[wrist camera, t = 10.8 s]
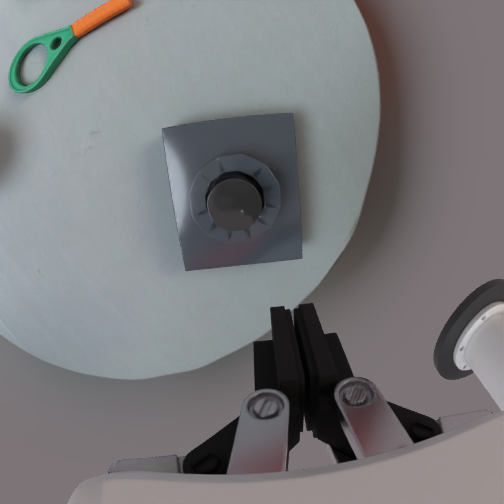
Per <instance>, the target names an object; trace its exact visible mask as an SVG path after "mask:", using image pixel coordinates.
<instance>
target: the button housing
mask: <svg viewBox="0 0 504 504" xmlns="http://www.w3.org/2000/svg"><path fill="white" fill-rule="evenodd" d="M162 133H163V141H164V148H165V156H166V163H167V169H168V176H169V183H170V189H171V195H172V201H173V207H174V213H175V218H176V224H177V229H178V235H179V240H180V245H181V250H182V255H183V260H184V265H185V270H186V271H190V270H200V269H210V268H220V267H229V266H239V265H248V264H257V263H267V262H276V261H285V260H294V259H302V235H301V214H300V197H299V181H298V167H297V154H296V142H295V130H294V120H293V113H281V114H266V115H254V116H244V117H234V118H226V119H218V120H210V121H203V122H197V123H190V124H184V125H178V126H173V127H167V128H163V129H162ZM229 175H241V176H244V177H246V178H248V179H250V180H251V181H252V182H253V183H254V184H255V185H256V187H257V189H258V191H259V194H260V197H261V202H262V208H261V213H260V215H259V217H258V219H257V220H256V222H255V223H254V224H253V225H252V226H250V227H249V228H247V229H244V230H241V231H228V230H224V229H222V228H220V227H219V226H217V225H216V224H215V223H214V222H213V221H212V219H211V217H210V216H209V213H208V209H207V201H208V197H209V194H210V192H211V191H212V189H213V187H214V185H215V184H216V183H217V182H218V181H219V180H220V179H222V178H223V177H226V176H229Z"/></svg>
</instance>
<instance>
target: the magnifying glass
mask: <svg viewBox="0 0 504 504" xmlns="http://www.w3.org/2000/svg"><path fill="white" fill-rule="evenodd" d="M132 6H133V4H132V1H131V0H110V1H109V2H107V3H105V4H104V5H102V6H100V7H99V8H97V9H95V10H94V11H92V12H90V13H89V14H87V15H86V16H84V17H83V18H81V19H80V20H78V21H77V22H75V23H74V24H72V25H71V26H68V27H66V28H63V29H60V30H57V31H53V32H50V33H47V34H44V35H41V36H38V37H35V38H33V39H31V40H29V41H28V42H26V43H25V44H24V45H23V46H22V47H21V49H20V50H19V51H18V52H17V54H16V55H15V57H14V59H13V61H12V63H11V66H10V69H9V76H8V80H9V85H10V87H11V89H12V90H13V91H15V92H17V93H29V92H33V91H35V90H37V89H38V88H40V87H41V86H42V85H43V84H44V83H45V82H46V81H47V80H48V79H49V77H50V76H51V74H52V73H53V71H54V70H55V69H56V67H57V66H58V64H59V63H60V61H61V60H62V59H63V57H64V56H65V54H66V53H67V52H68V50H69V49H70V48H71V46H72V45H73V44H74V43H75V42H76V41H77V40H78V39H79V38H80V37H82V36H83V35H85V34H86V33H88V32H89V31H91V30H92V29H94V28H96V27H97V26H99V25H101V24H102V23H104V22H105V21H107V20H109V19H111V18H112V17H114V16H116V15H117V14H119V13H121V12H123V11H125V10H127V9H129V8H131V7H132ZM59 39H62V42H61V45H60V46H59V47H58V48H57V49H56V50H55V49H54V46H55V43H56V42H57V40H59ZM38 44H43V45H44V46H45V47H46V49H47V61H46V65H45V67H44V70H43V72H42V73H41V75H40V76H39V78H38V79H37V80H36V81H35V82H34V83H32V84H31V85H29V86H28V85H27V86H25V85H23V84H22V83H21V81H20V78H19V68H20V64H21V62H22V59H23V58H24V56H25V54H26V53H27V52H28V51H29V50H30V49H31V48H32V47H34V46H35V45H38Z"/></svg>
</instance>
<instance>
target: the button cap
mask: <svg viewBox="0 0 504 504" xmlns="http://www.w3.org/2000/svg"><path fill="white" fill-rule="evenodd" d="M261 208H262V202H261V197H260V194H259V191H258V189H257V187H256V185H255V184H254V183H253V182H252V181H251V180H250V179H248V178H246V177H244V176H241V175H229V176H226V177H223V178H222V179H220V180H219V181H218V182H217V183H216V184H215V185H214V187H213V189H212V191H211V192H210V194H209V197H208V201H207V209H208V213H209V216H210V217H211V219H212V221H213V222H214V223H215V224H216V225H217V226H219V227H220V228H222V229H224V230H228V231H241V230H244V229H247V228H249V227H250V226H252V225H253V224H254V223H255V222H256V220H257V219H258V217H259V215H260V213H261Z"/></svg>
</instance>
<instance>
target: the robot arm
mask: <svg viewBox="0 0 504 504" xmlns="http://www.w3.org/2000/svg"><path fill="white" fill-rule="evenodd" d="M270 312H271V325H272V339H273V340H268V341H256V342H254V376H255V391H254V392H252V393H251V394H249V395H248V396H247V397H246V398H245V399H244V401H243V404H242V408H241V412H240V416H239V417H237V418H236V419H235V420H233V421H232V422H231V423H229V424H228V425H227V426H226V427H224V428H223V429H221V430H220V431H219V432H217V433H216V434H215V435H213V436H212V437H211V438H209V439H208V440H206V441H205V442H204V443H202V444H201V445H199V446H198V447H196V448H195V449H194V450H192V451H191V452H190V453H188V454H187V455H186V456H182V457H177V455H169V456H161V457H149V458H137V459H123V460H118V461H117V462H115V463H113V464H112V466H111V467H110V468H109V471H108V474H105V475H100V476H96V477H93V478H90V479H87V480H85V481H84V482H82V483H81V484H80V485H79V486H78V487H77V488H76V489H75V491H74V492H73V494H72V495H71V497H70V499H69V501H68V503H67V504H504V302H502V301H497V302H494V303H491V304H490V305H488V306H486V307H485V308H483V309H482V310H481V311H480V312H479V313H478V314H477V315H475V317H474V318H473V319H472V320H471V321H470V322H469V324H468V325H467V326H466V327H465V329H464V330H463V332H462V334H461V335H460V337H459V339H458V341H457V343H456V346H455V349H454V353H453V360H454V363H455V364H456V366H457V367H458V368H459V369H460V370H470V369H472V370H473V372H474V373H475V374H476V375H477V377H478V378H479V380H480V381H481V382H482V384H483V385H484V387H485V388H486V389H487V391H488V392H489V393H490V395H491V396H492V398H493V399H494V400H495V402H496V403H497V405H498V406H499V408H500V409H501V412H497V413H494V414H493V413H492V412H491V411H488V410H477V411H472V412H467V413H462V414H456V415H450V416H443V417H439V419H438V420H434V419H432V418H430V417H428V416H425V415H422V414H419V413H417V412H414V411H411V410H408V409H406V408H403V407H401V406H398V405H396V404H393V403H390V402H388V401H386V400H385V399H384V397H383V395H382V394H381V392H380V391H379V390H378V388H377V387H376V385H375V384H374V383H373V382H371V381H370V380H368V379H365V378H362V377H354V376H353V373H352V371H351V368H350V365H349V363H348V360H347V358H346V355H345V353H344V350H343V348H342V345H341V343H340V340H339V338H338V336H337V334H336V333H329V334H324V332H323V330H322V327H321V324H320V321H319V318H318V316H317V313H316V310H315V307H314V305H313V303H309V304H300V305H299V308H296V309H294V325H293V321H292V316H291V312H290V309H287V310H285V308H284V306H280V307H270ZM304 417H305V423H306V428H307V431H311V430H312V432H313V437H314V438H318V439H319V440H321V441H323V442H324V443H326V448H327V451H328V453H329V456H330V458H331V461H332V463H333V465H328V466H322V467H316V468H309V469H302V470H293V471H289V459H290V450H291V449H292V448H293V447H294V446H295V445H296V444H297V443H298V442H299V440H300V432H303V420H304Z"/></svg>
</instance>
